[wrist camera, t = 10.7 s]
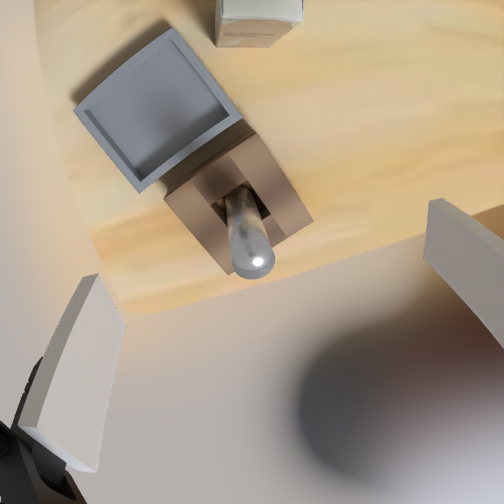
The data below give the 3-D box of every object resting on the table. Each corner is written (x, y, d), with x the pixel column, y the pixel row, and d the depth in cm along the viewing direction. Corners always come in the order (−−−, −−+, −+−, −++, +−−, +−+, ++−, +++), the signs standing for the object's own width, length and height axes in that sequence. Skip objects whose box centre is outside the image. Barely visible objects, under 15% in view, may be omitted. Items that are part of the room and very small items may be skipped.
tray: (81, 109, 23) (72, 110, 22) (176, 31, 21) (173, 26, 20) (143, 187, 28) (139, 193, 27) (240, 116, 26) (242, 117, 24)
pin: (219, 196, 30) (222, 257, 19) (243, 181, 29) (260, 233, 19) (235, 218, 31) (246, 286, 21) (258, 203, 31) (282, 265, 20)
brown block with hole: (168, 189, 29) (163, 199, 26) (252, 129, 27) (257, 133, 24) (227, 260, 33) (228, 275, 31) (305, 209, 31) (313, 221, 29)
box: (214, 48, 23) (214, 17, 13) (215, 7, 21) (215, -40, 11) (272, 48, 23) (306, 21, 14) (272, 8, 21) (304, -35, 12)
